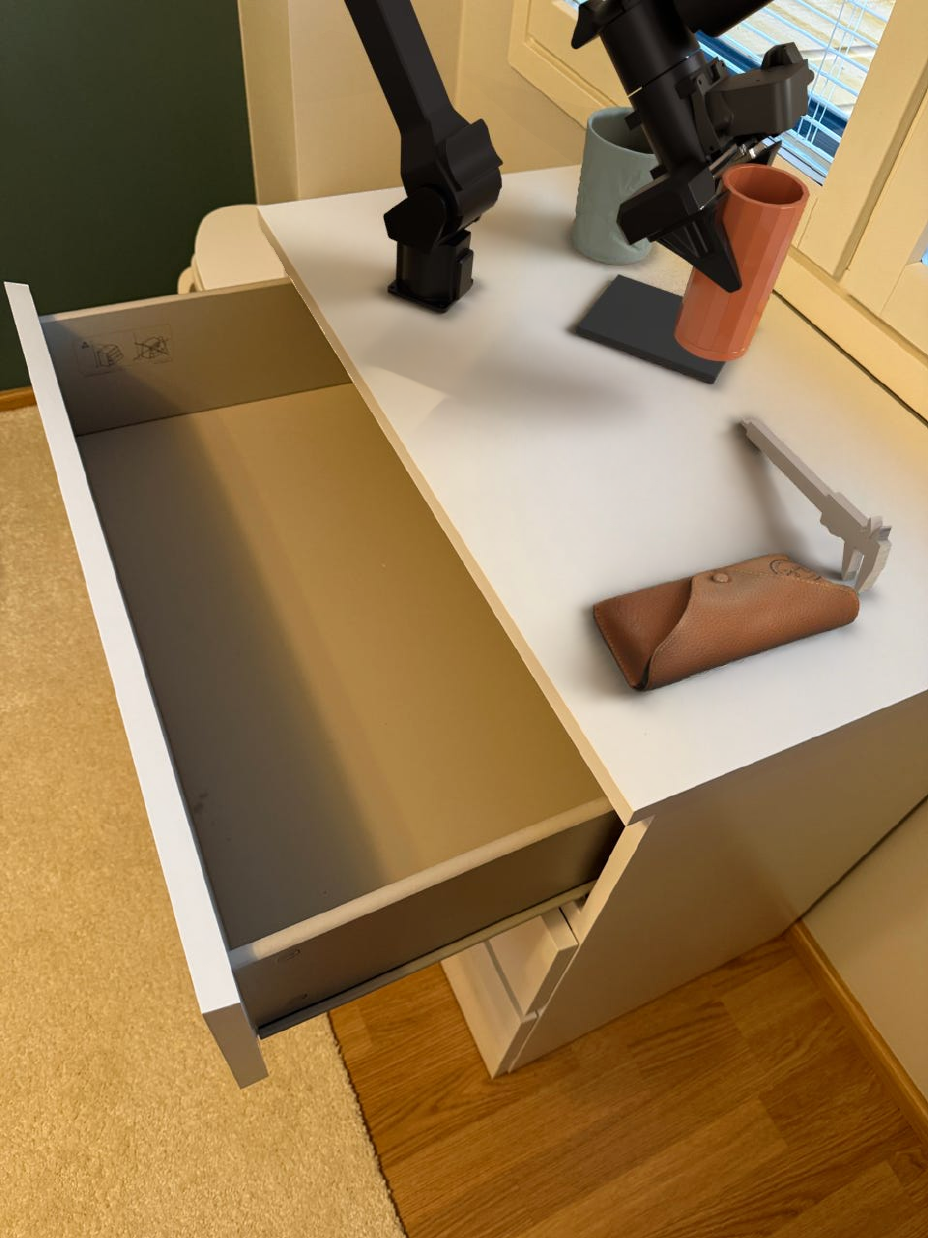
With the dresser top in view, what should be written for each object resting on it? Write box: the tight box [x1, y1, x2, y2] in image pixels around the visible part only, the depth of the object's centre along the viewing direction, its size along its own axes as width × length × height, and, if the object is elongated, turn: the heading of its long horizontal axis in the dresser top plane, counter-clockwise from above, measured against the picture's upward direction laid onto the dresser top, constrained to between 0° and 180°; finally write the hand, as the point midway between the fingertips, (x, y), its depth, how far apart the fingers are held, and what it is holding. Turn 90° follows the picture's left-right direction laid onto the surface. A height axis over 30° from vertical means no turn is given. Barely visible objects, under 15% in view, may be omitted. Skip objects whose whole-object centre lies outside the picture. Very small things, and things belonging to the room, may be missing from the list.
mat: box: [575, 274, 727, 384], centre depth 90 cm, size 14×11×1 cm
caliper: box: [740, 418, 893, 594], centre depth 74 cm, size 20×1×6 cm, turn 15°
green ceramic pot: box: [571, 106, 659, 266], centre depth 95 cm, size 10×10×12 cm
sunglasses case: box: [592, 553, 861, 693], centre depth 66 cm, size 18×7×7 cm
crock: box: [674, 163, 811, 362], centre depth 72 cm, size 6×6×13 cm
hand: (752, 271), depth 72 cm, fingers closed on crock, 6 cm apart
